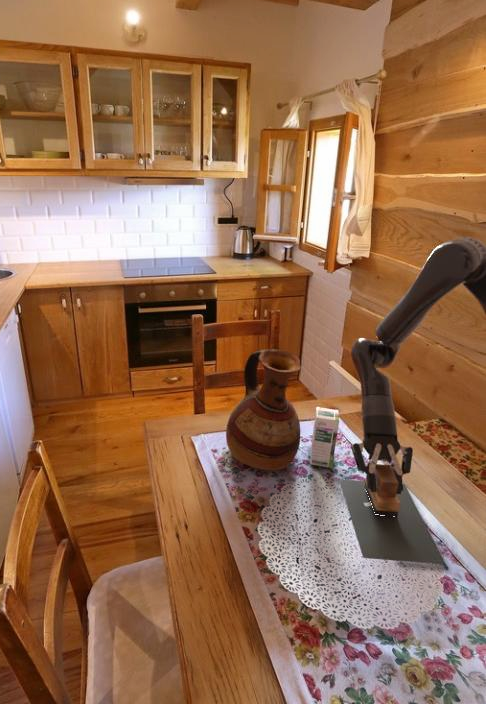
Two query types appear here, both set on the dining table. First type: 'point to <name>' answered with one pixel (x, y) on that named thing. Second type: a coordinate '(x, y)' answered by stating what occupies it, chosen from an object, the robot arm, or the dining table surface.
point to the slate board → (389, 528)
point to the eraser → (384, 492)
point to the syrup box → (324, 437)
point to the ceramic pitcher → (266, 414)
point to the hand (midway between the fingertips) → (385, 492)
